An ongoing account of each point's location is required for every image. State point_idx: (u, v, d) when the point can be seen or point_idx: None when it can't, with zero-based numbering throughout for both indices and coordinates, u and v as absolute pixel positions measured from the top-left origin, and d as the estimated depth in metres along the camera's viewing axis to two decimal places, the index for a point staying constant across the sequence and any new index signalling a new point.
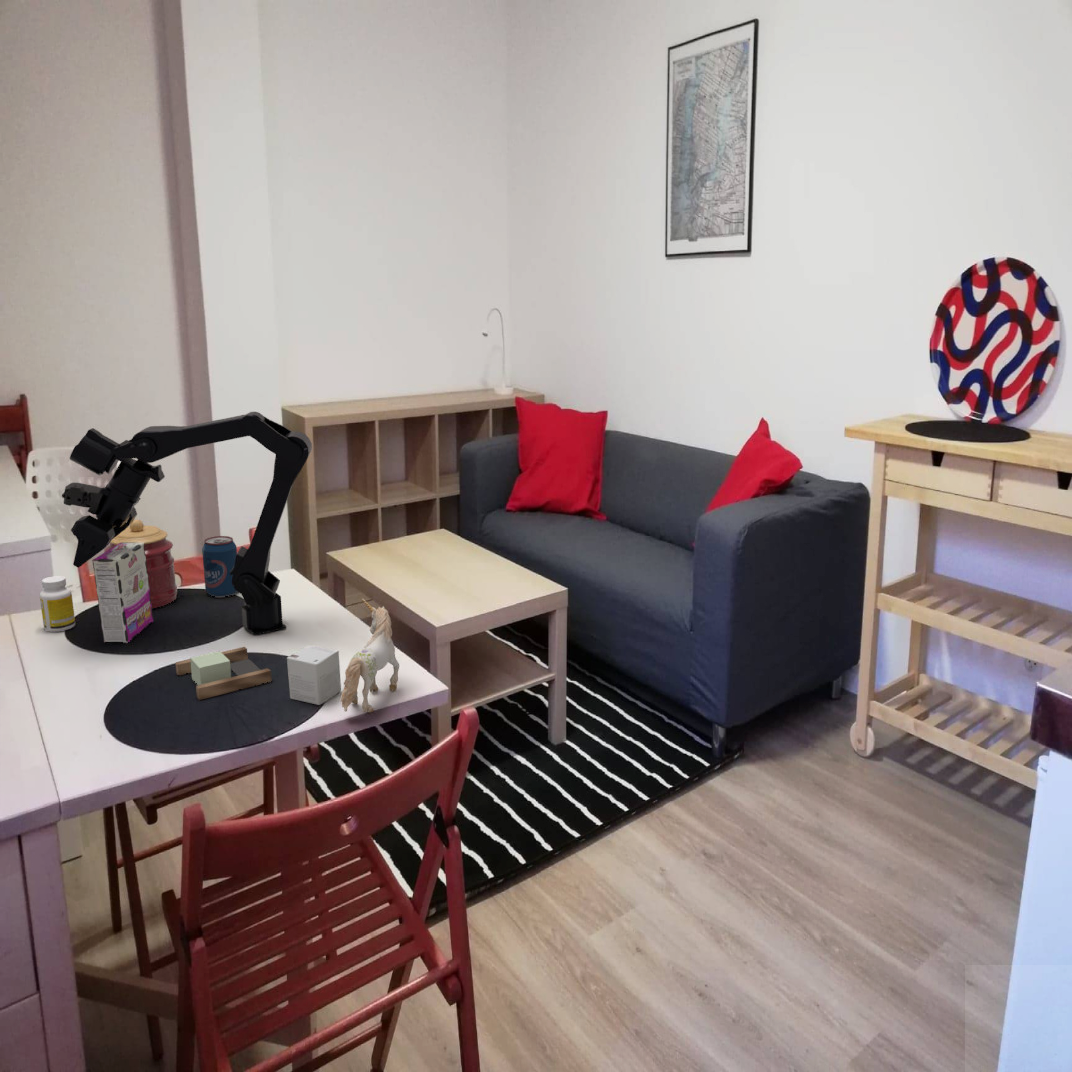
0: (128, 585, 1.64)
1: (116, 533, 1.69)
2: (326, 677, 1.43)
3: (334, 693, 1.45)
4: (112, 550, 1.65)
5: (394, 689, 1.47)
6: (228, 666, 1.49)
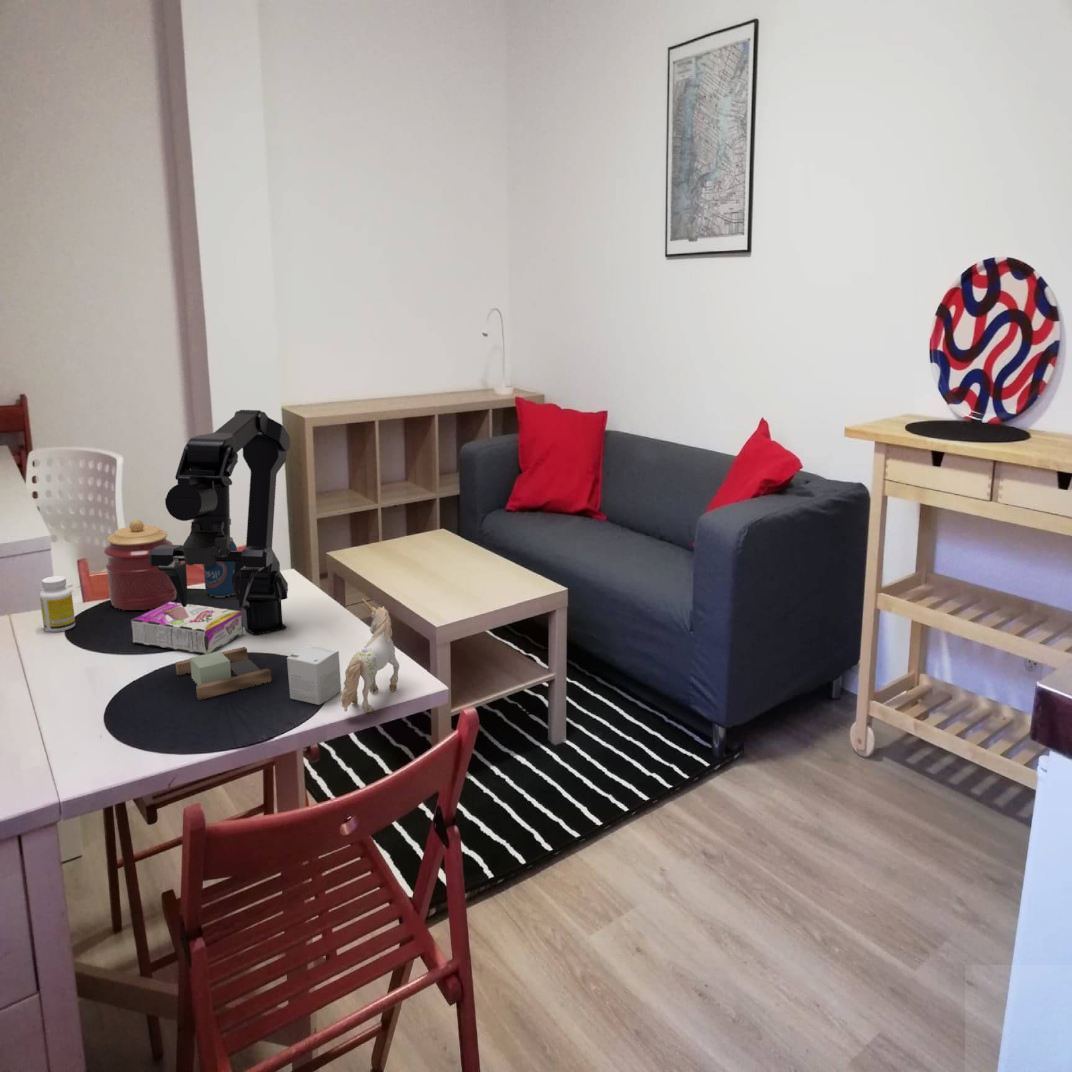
0: None
1: (185, 573, 1.50)
2: (326, 677, 1.43)
3: (334, 693, 1.45)
4: (224, 626, 1.64)
5: (394, 689, 1.47)
6: (228, 666, 1.49)
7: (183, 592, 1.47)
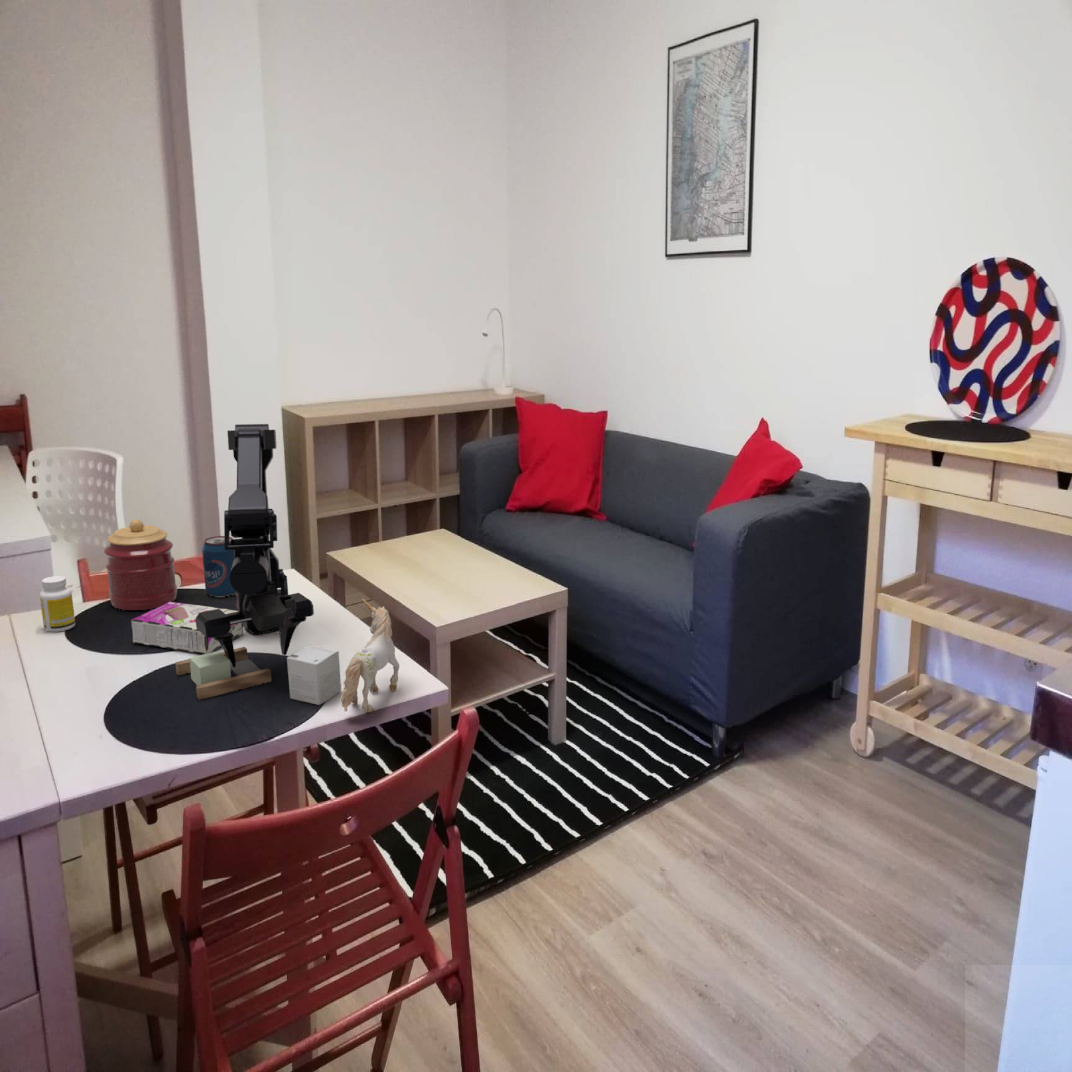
0: None
1: None
2: (326, 677, 1.43)
3: (334, 693, 1.45)
4: None
5: (394, 689, 1.47)
6: (228, 666, 1.49)
7: (234, 654, 1.51)
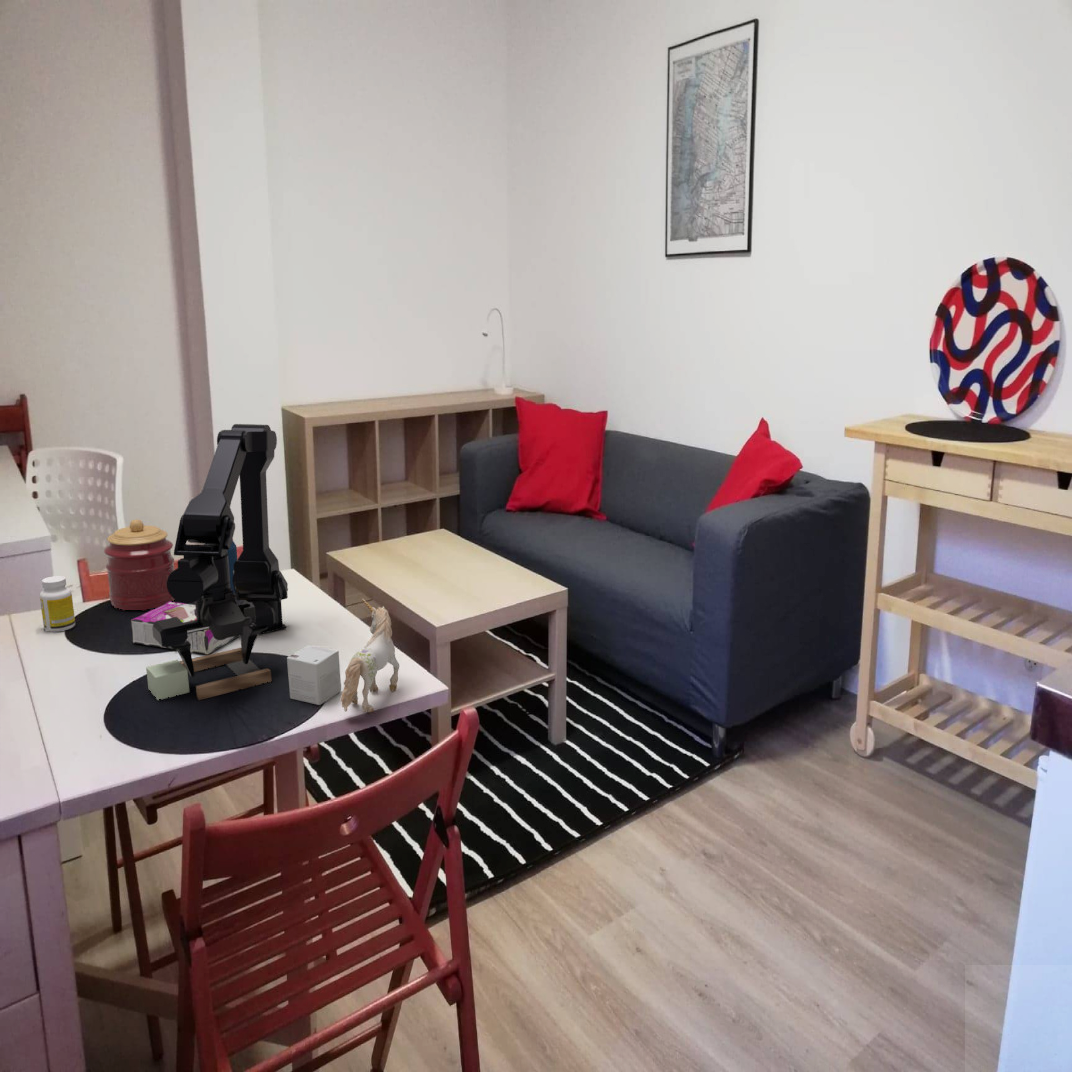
0: None
1: None
2: (326, 677, 1.43)
3: (334, 693, 1.45)
4: None
5: (394, 689, 1.47)
6: (185, 675, 1.45)
7: (192, 663, 1.47)
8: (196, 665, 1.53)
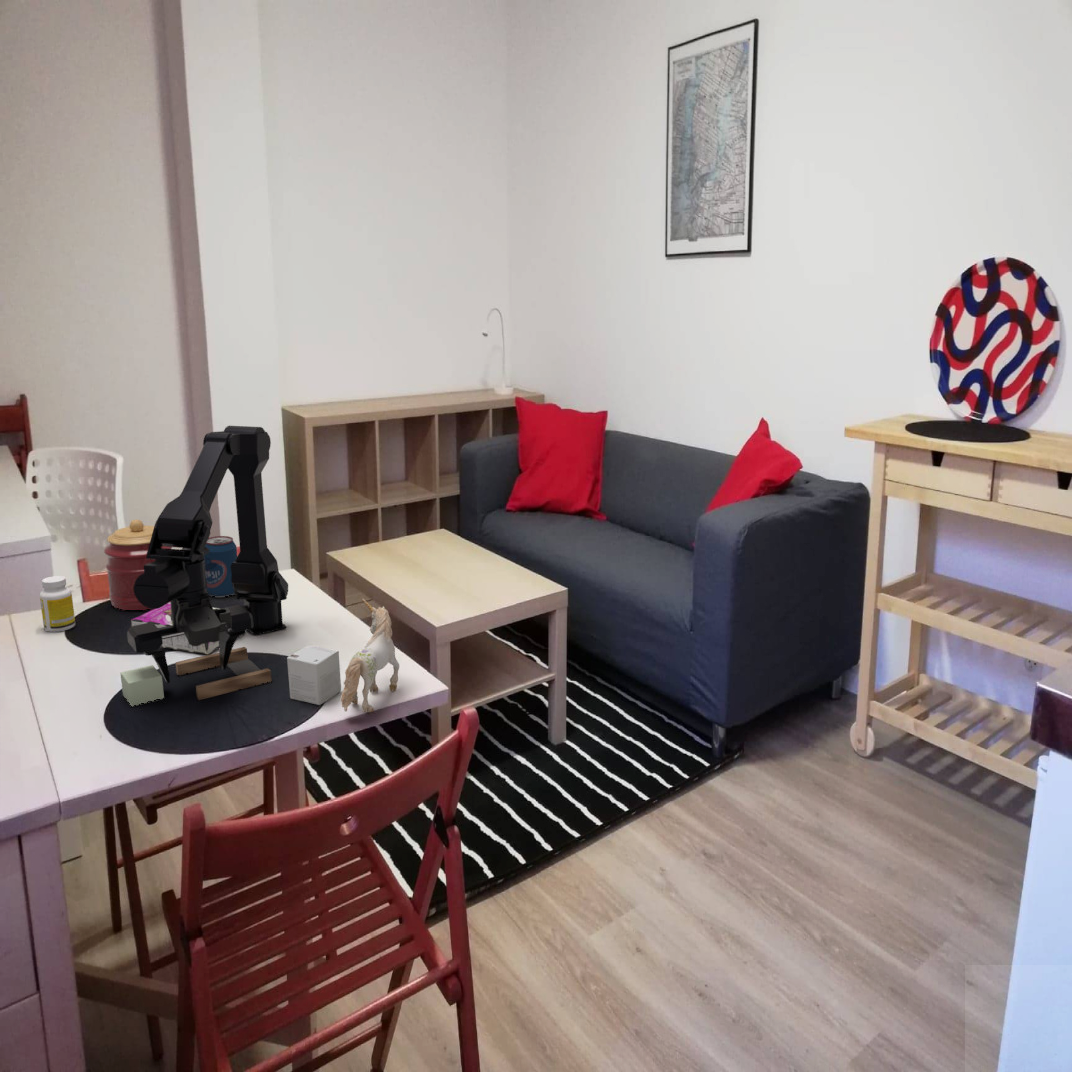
0: None
1: None
2: (326, 677, 1.43)
3: (334, 693, 1.45)
4: None
5: (394, 689, 1.47)
6: (160, 681, 1.42)
7: None
8: (196, 665, 1.53)
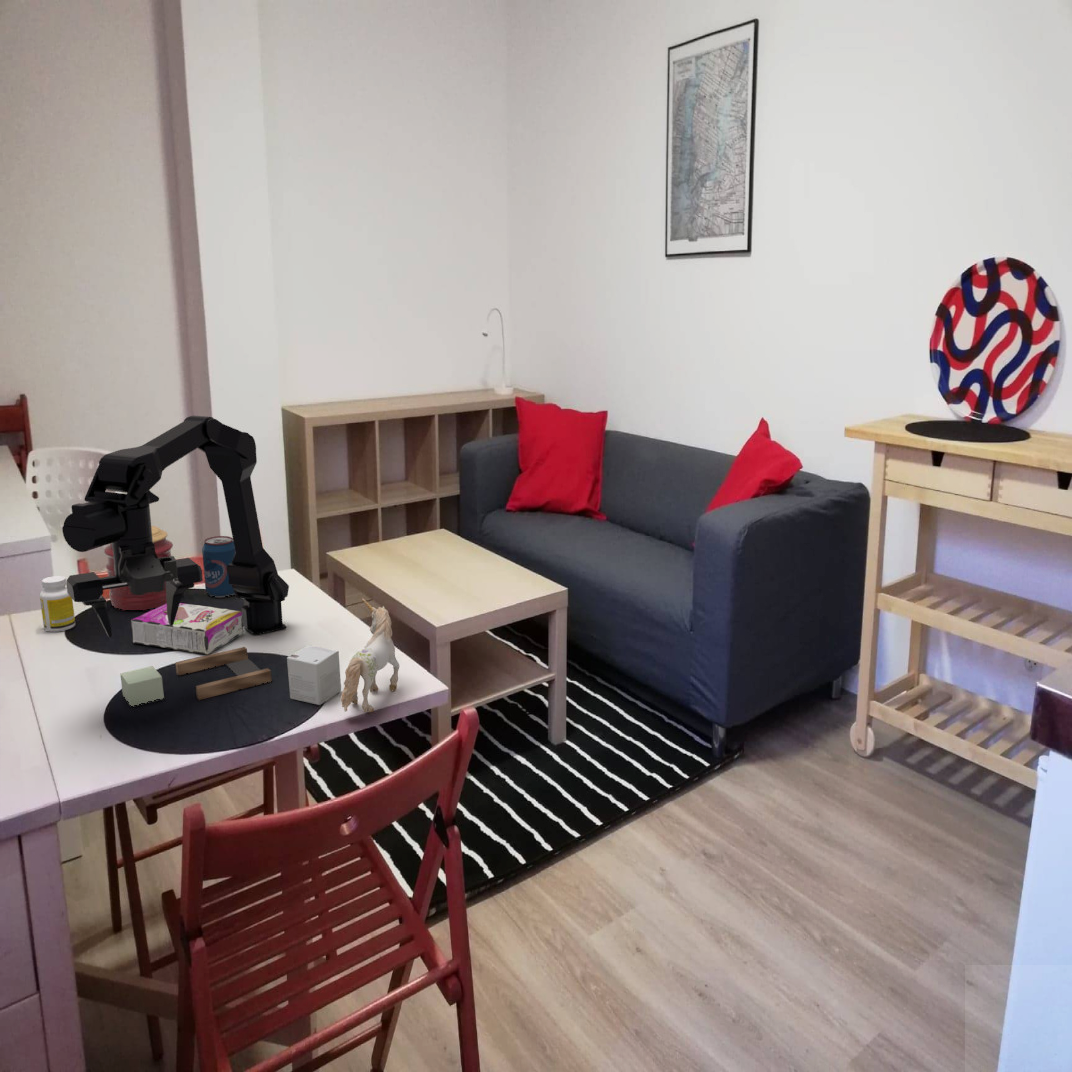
0: None
1: None
2: (326, 677, 1.43)
3: (334, 693, 1.45)
4: (224, 626, 1.64)
5: (394, 689, 1.47)
6: (160, 682, 1.42)
7: (109, 622, 1.37)
8: (196, 665, 1.53)
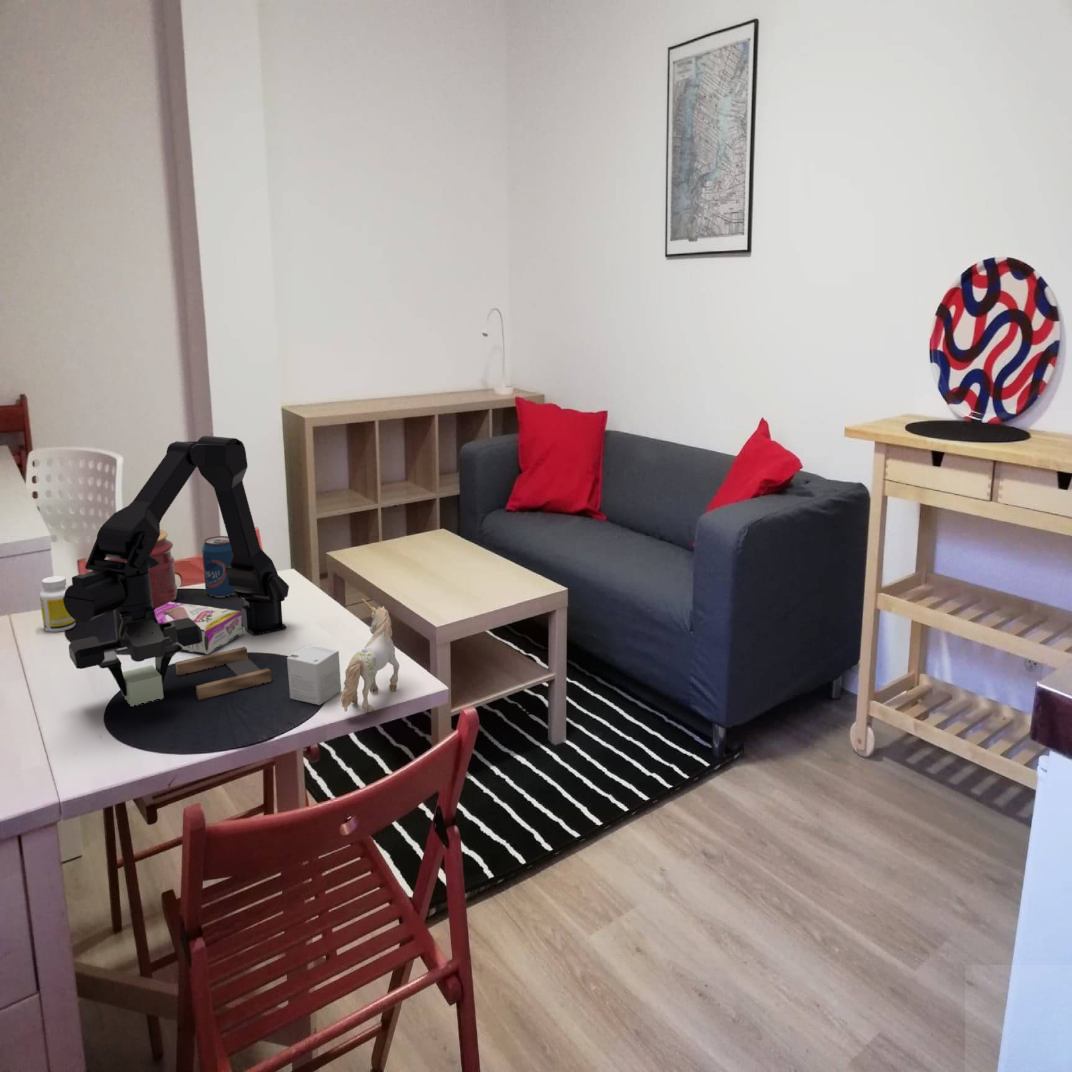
0: None
1: None
2: (326, 677, 1.43)
3: (334, 693, 1.45)
4: (224, 626, 1.64)
5: (394, 689, 1.47)
6: (159, 681, 1.42)
7: (124, 682, 1.41)
8: (196, 665, 1.53)
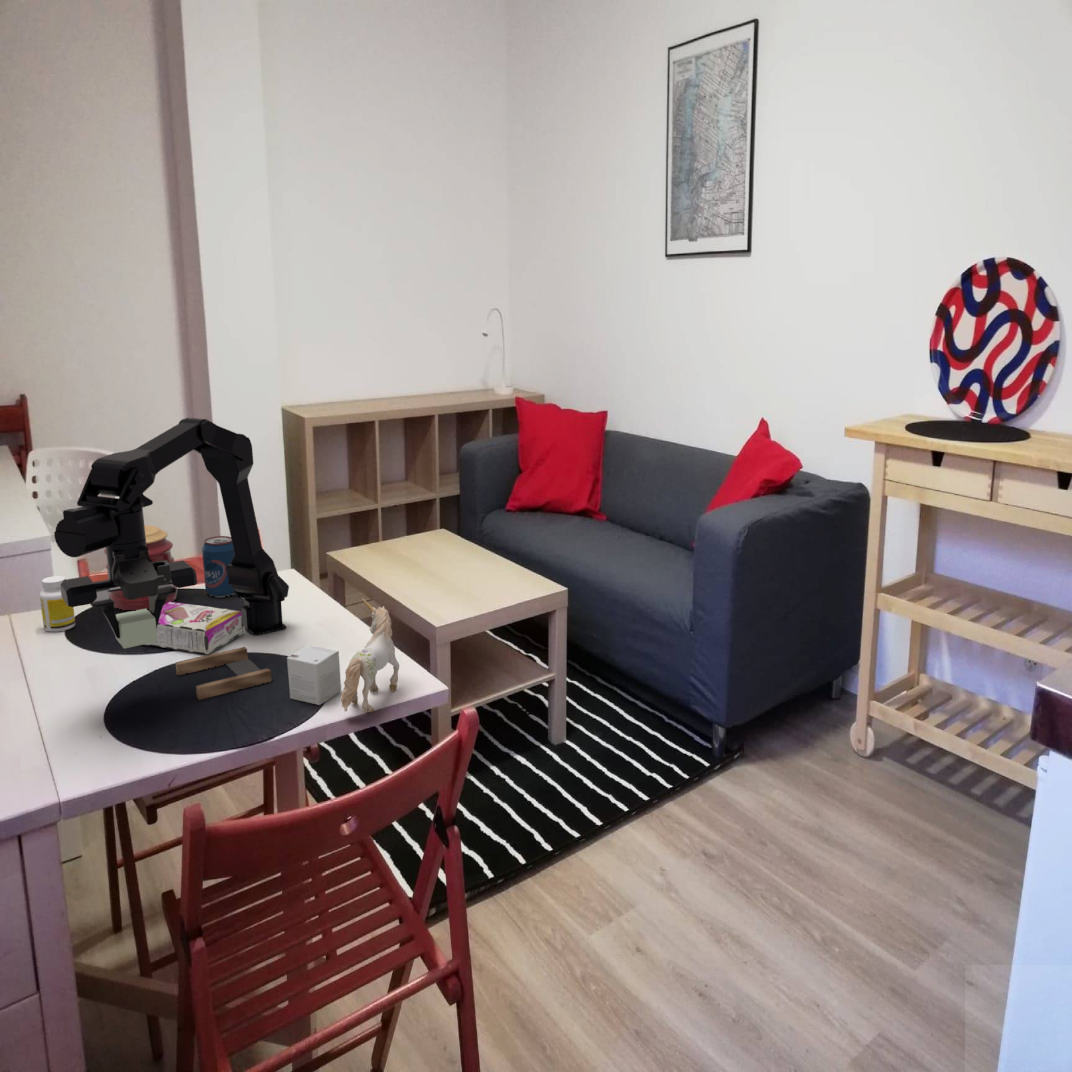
0: None
1: None
2: (326, 677, 1.43)
3: (334, 693, 1.45)
4: (224, 626, 1.64)
5: (394, 689, 1.47)
6: (153, 623, 1.40)
7: (117, 623, 1.38)
8: (196, 665, 1.53)
